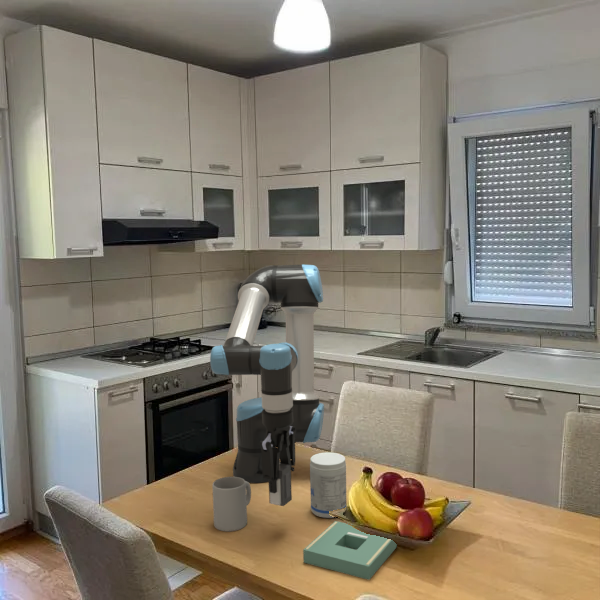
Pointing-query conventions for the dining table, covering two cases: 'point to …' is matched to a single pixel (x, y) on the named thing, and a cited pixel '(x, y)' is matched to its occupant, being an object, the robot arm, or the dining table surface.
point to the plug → (284, 483)
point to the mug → (230, 503)
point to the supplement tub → (327, 483)
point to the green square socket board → (348, 551)
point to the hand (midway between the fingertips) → (280, 499)
